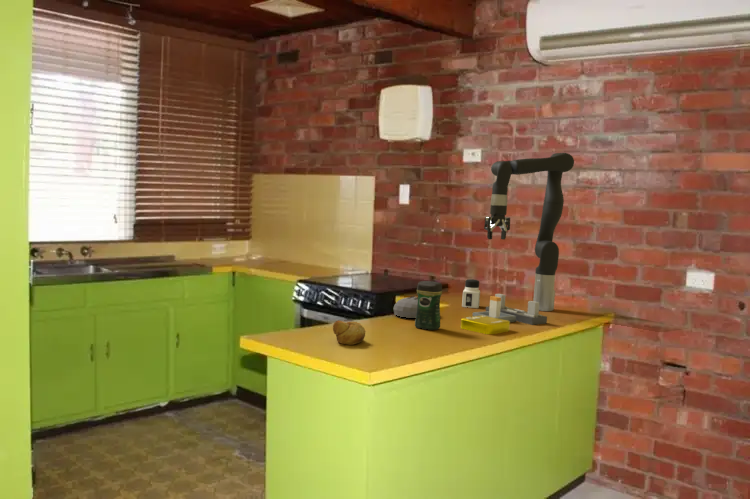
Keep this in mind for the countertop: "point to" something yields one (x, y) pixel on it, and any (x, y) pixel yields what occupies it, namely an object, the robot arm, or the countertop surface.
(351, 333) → the bread roll
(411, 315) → the soft grey pack
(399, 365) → the countertop surface
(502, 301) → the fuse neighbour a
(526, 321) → the fuse holder
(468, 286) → the container
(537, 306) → the block
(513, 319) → the tray
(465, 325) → the element tile
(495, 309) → the block
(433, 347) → the countertop surface
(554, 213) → the robot arm
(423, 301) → the coffee jar
